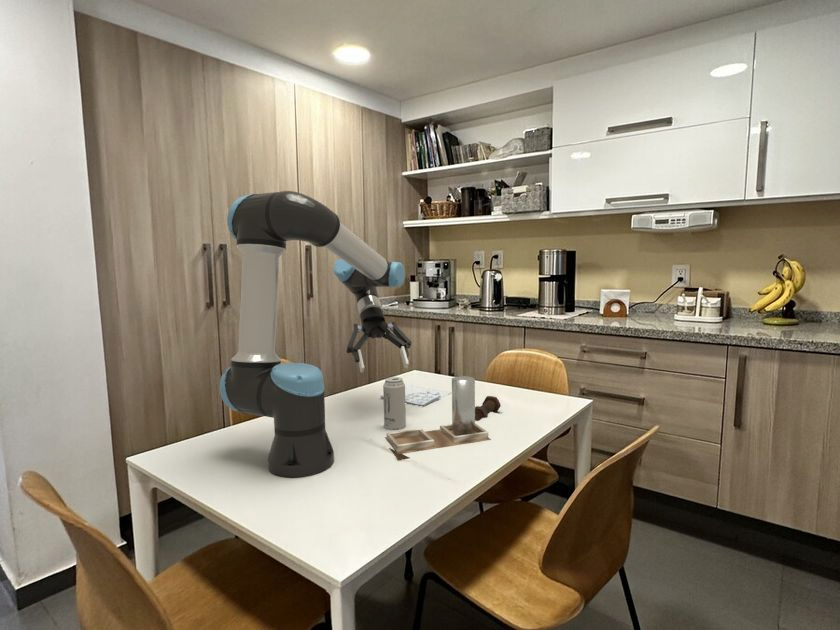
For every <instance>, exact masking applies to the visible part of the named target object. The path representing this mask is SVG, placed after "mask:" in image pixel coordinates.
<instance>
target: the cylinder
mask: <svg viewBox="0 0 840 630" xmlns="http://www.w3.org/2000/svg"><path fill="white" fill-rule="evenodd" d="M475 382H476V379H475V378H474V377H473V376H464V375H462V376H460V375H459V376H454V377H452V378H451V424H452V433H453V434H454V435H455V436H460V435H467V434H473V433H475V424H476V421H475V407H476V383H475Z"/></svg>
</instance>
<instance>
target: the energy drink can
mask: <svg viewBox="0 0 840 630" xmlns="http://www.w3.org/2000/svg"><path fill="white" fill-rule="evenodd" d="M384 380H385V382H384V383H383V386H382V387H383V388H382V389H383V390H382V391H383V392H382V393H383V394H382V395H384V399H383V424H384V425H383V426H384V427H383V428H384V429H385V430H387V431H402V430H403V429H405V428H406V427H407V424H406V423H407V421H406V420H407V416H406V409H407V408H406V404H405V388H406V385H405V383H404V381H403V378H402V377H397V376H391V377H386V378H385V379H384Z"/></svg>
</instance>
